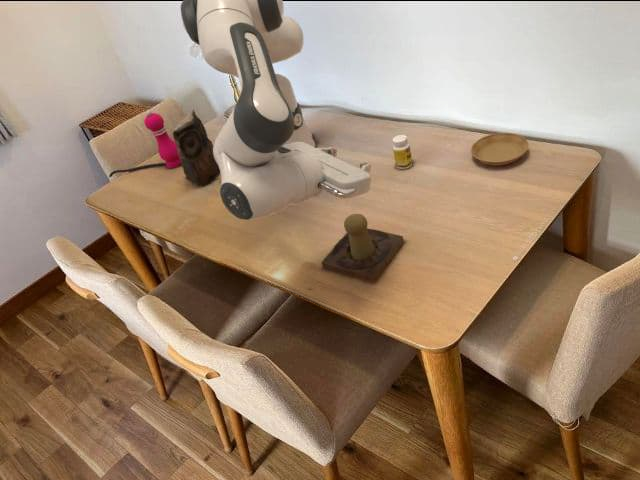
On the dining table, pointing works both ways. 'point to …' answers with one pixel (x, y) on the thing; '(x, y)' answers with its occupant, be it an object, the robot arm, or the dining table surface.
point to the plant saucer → (499, 148)
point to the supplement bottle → (402, 152)
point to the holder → (367, 267)
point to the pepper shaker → (359, 237)
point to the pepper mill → (162, 139)
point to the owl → (195, 150)
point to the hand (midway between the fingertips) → (350, 159)
